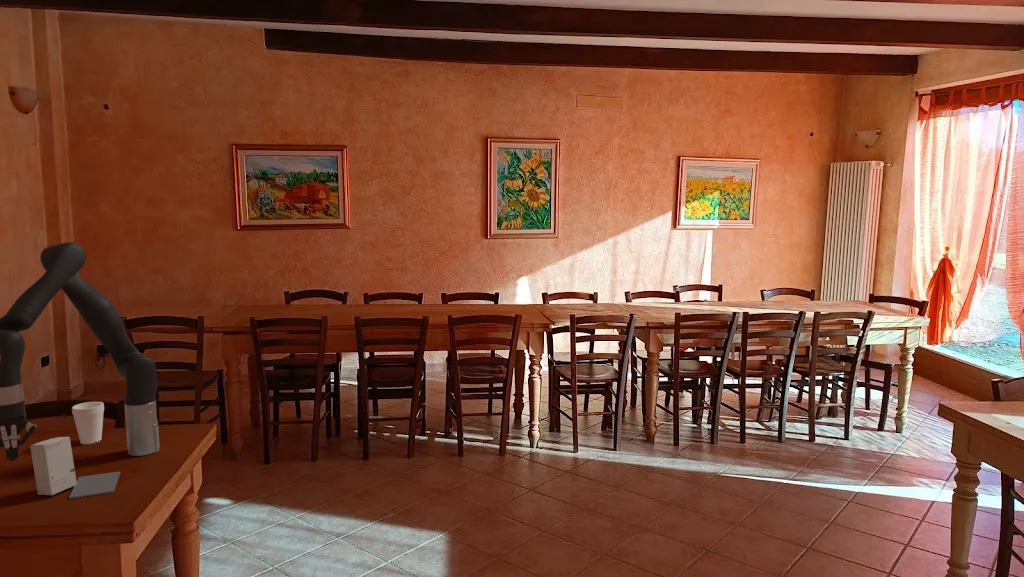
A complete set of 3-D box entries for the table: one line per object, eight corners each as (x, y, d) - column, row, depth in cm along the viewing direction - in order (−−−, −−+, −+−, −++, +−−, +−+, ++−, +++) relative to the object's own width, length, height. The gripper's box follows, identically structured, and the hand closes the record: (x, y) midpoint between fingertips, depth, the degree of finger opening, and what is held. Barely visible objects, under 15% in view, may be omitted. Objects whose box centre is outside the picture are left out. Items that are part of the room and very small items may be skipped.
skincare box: (52, 496, 194) (43, 445, 192) (36, 495, 196) (27, 445, 194) (78, 484, 202) (70, 435, 200) (63, 483, 203) (55, 435, 202)
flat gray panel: (120, 472, 212) (120, 471, 212) (113, 492, 197) (113, 491, 197) (78, 478, 207) (78, 477, 207) (68, 499, 193) (68, 497, 193)
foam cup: (72, 440, 241) (69, 405, 239) (102, 434, 247) (99, 400, 245) (78, 447, 234) (75, 411, 232) (109, 441, 240) (106, 405, 238)
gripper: (39, 394, 197) (44, 451, 199) (-17, 399, 192) (-12, 458, 194) (32, 401, 190) (38, 460, 192) (-26, 406, 185) (-20, 467, 187)
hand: (13, 459), depth 193 cm, fingers closed
